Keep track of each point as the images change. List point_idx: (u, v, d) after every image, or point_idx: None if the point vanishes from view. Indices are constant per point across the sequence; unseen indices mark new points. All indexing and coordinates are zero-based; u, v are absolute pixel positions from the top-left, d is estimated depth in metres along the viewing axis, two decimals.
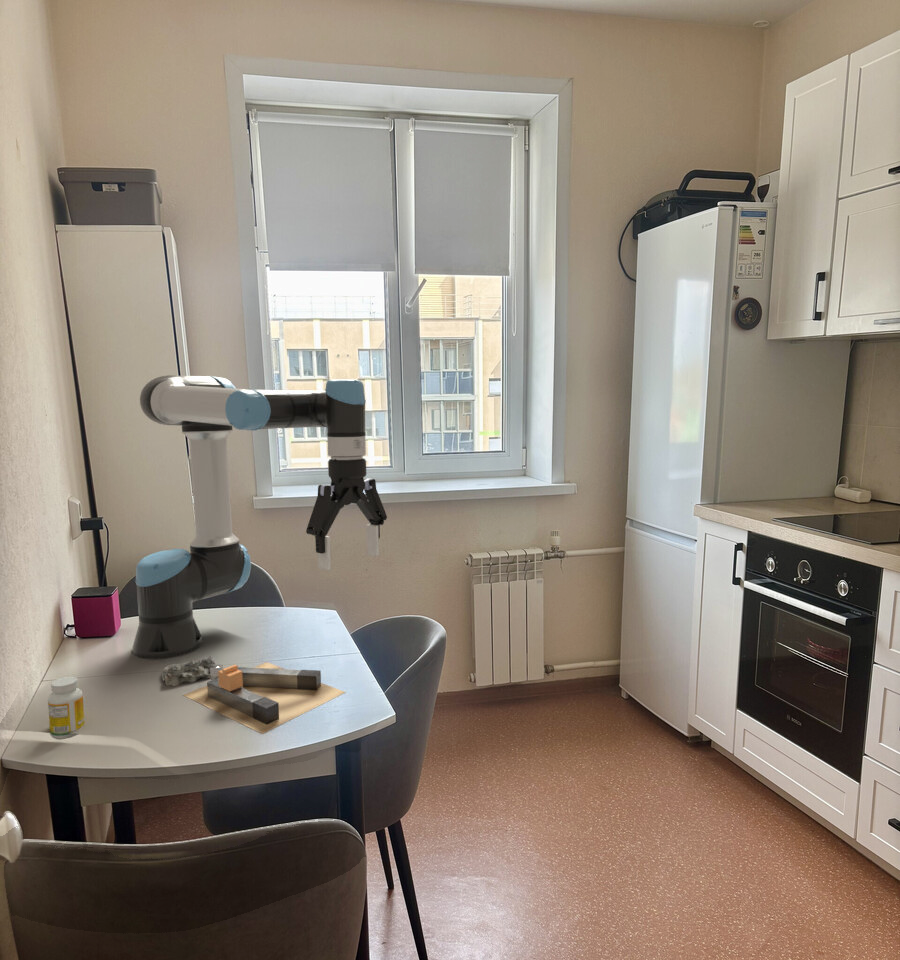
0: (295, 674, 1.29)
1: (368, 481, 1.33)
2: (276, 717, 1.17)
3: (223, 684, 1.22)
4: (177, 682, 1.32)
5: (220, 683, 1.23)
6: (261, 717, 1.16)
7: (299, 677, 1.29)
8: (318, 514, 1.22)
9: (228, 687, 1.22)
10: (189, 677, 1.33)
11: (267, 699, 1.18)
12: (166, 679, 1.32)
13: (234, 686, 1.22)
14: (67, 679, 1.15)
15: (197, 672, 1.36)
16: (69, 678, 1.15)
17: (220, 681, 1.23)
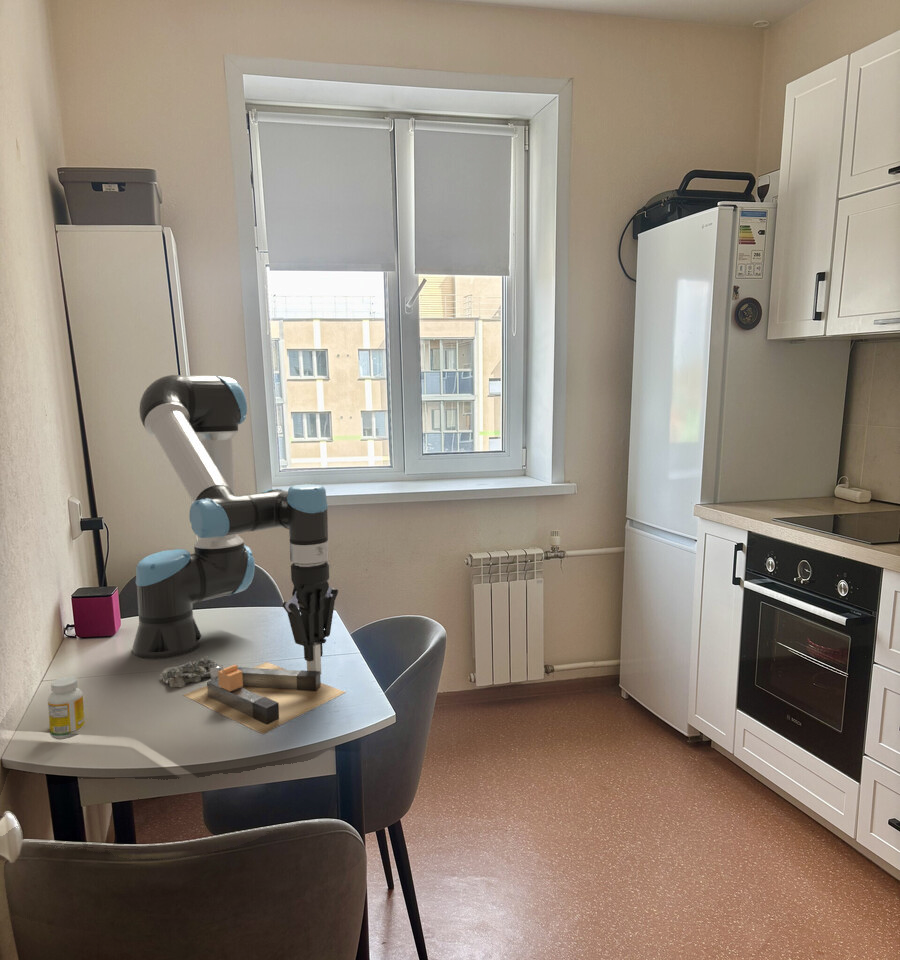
0: (294, 675, 1.29)
1: (331, 589, 1.34)
2: (276, 717, 1.17)
3: (223, 684, 1.22)
4: (183, 683, 1.31)
5: (220, 683, 1.23)
6: (261, 717, 1.16)
7: (299, 677, 1.29)
8: (297, 629, 1.27)
9: (228, 687, 1.22)
10: (194, 677, 1.33)
11: (267, 699, 1.18)
12: (171, 681, 1.31)
13: (234, 686, 1.22)
14: (67, 679, 1.15)
15: (199, 672, 1.36)
16: (69, 678, 1.15)
17: (220, 681, 1.23)
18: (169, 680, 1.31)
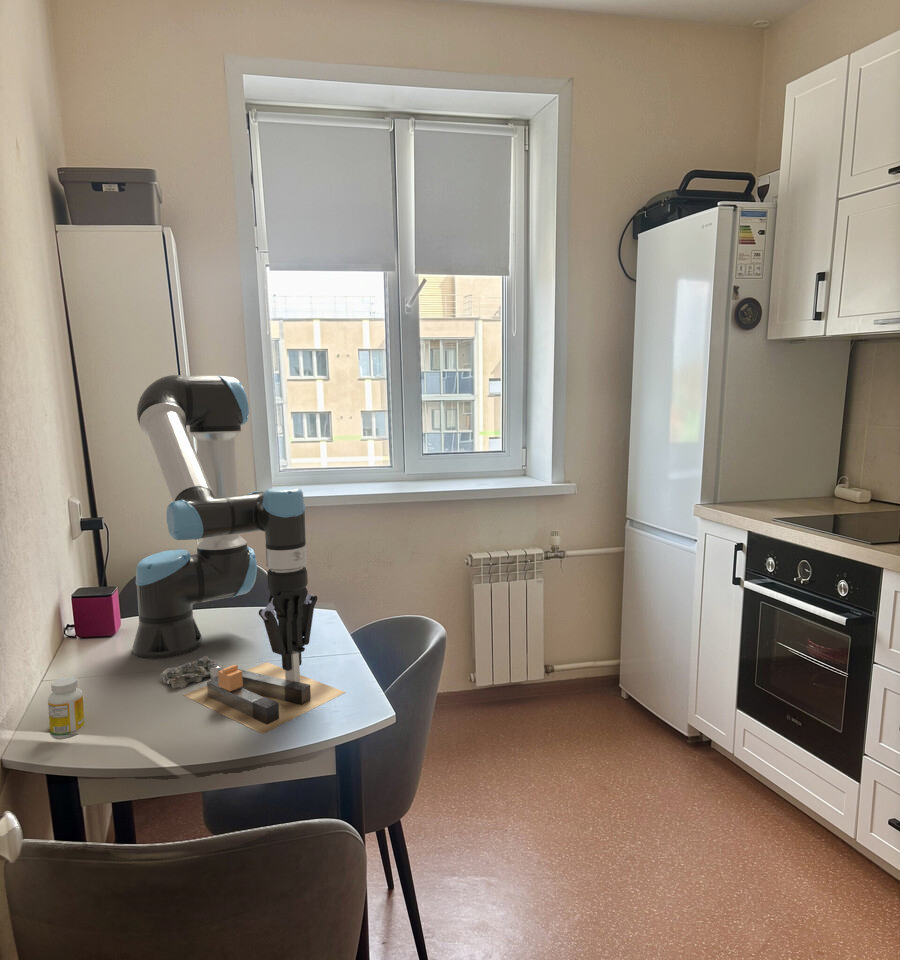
0: (283, 685, 1.24)
1: (310, 595, 1.29)
2: (276, 717, 1.17)
3: (223, 684, 1.22)
4: (185, 683, 1.31)
5: (220, 683, 1.23)
6: (261, 717, 1.16)
7: (287, 688, 1.24)
8: (274, 638, 1.22)
9: (228, 687, 1.22)
10: (195, 677, 1.33)
11: (267, 699, 1.18)
12: (173, 682, 1.31)
13: (234, 686, 1.22)
14: (67, 679, 1.15)
15: (199, 672, 1.36)
16: (69, 678, 1.15)
17: (220, 681, 1.23)
18: (170, 681, 1.31)
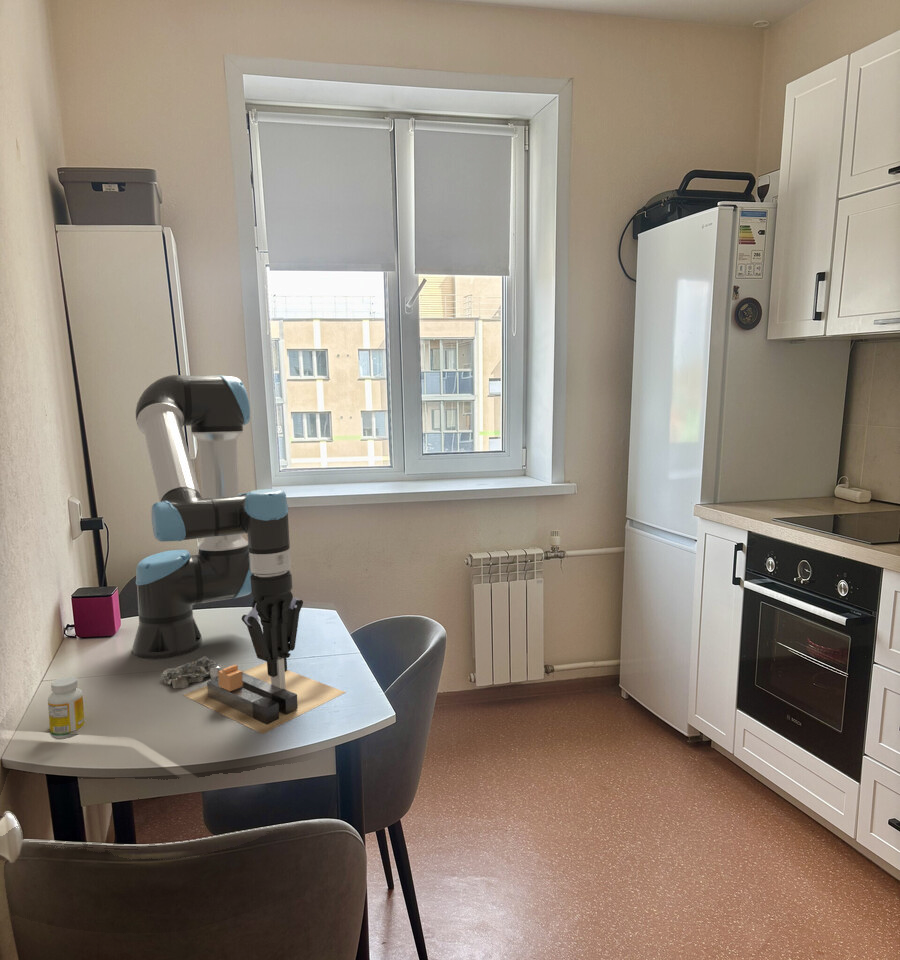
0: (271, 692, 1.21)
1: (296, 600, 1.26)
2: (276, 717, 1.17)
3: (223, 684, 1.22)
4: (187, 683, 1.31)
5: (220, 683, 1.23)
6: (261, 717, 1.16)
7: (274, 696, 1.21)
8: (258, 644, 1.19)
9: (228, 687, 1.22)
10: (196, 677, 1.33)
11: (267, 699, 1.18)
12: (174, 682, 1.30)
13: (234, 686, 1.22)
14: (67, 679, 1.15)
15: (200, 672, 1.36)
16: (69, 678, 1.15)
17: (220, 681, 1.23)
18: (172, 681, 1.31)
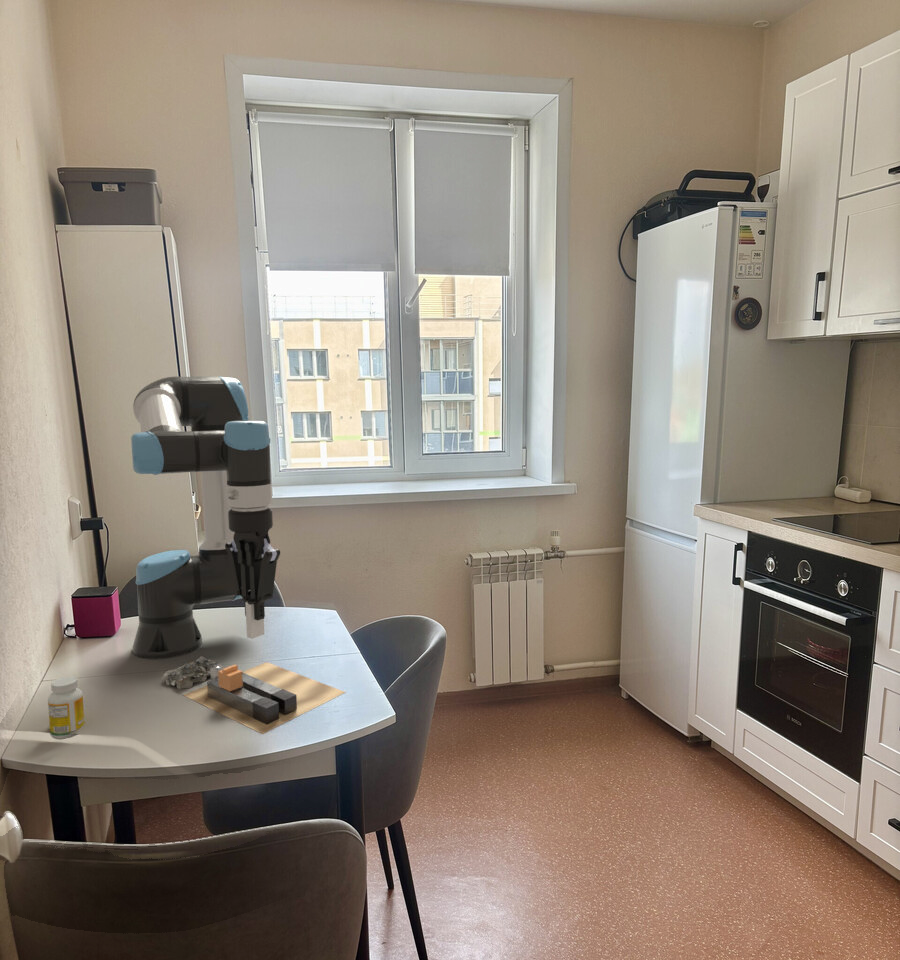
0: (270, 693, 1.21)
1: (268, 550, 1.12)
2: (276, 717, 1.17)
3: (223, 684, 1.22)
4: (191, 683, 1.31)
5: (220, 683, 1.23)
6: (261, 717, 1.16)
7: (273, 696, 1.20)
8: None
9: (228, 687, 1.22)
10: (199, 677, 1.33)
11: (267, 699, 1.18)
12: (179, 683, 1.30)
13: (234, 686, 1.22)
14: (67, 679, 1.15)
15: (201, 672, 1.36)
16: (69, 678, 1.15)
17: (220, 681, 1.23)
18: (176, 682, 1.30)
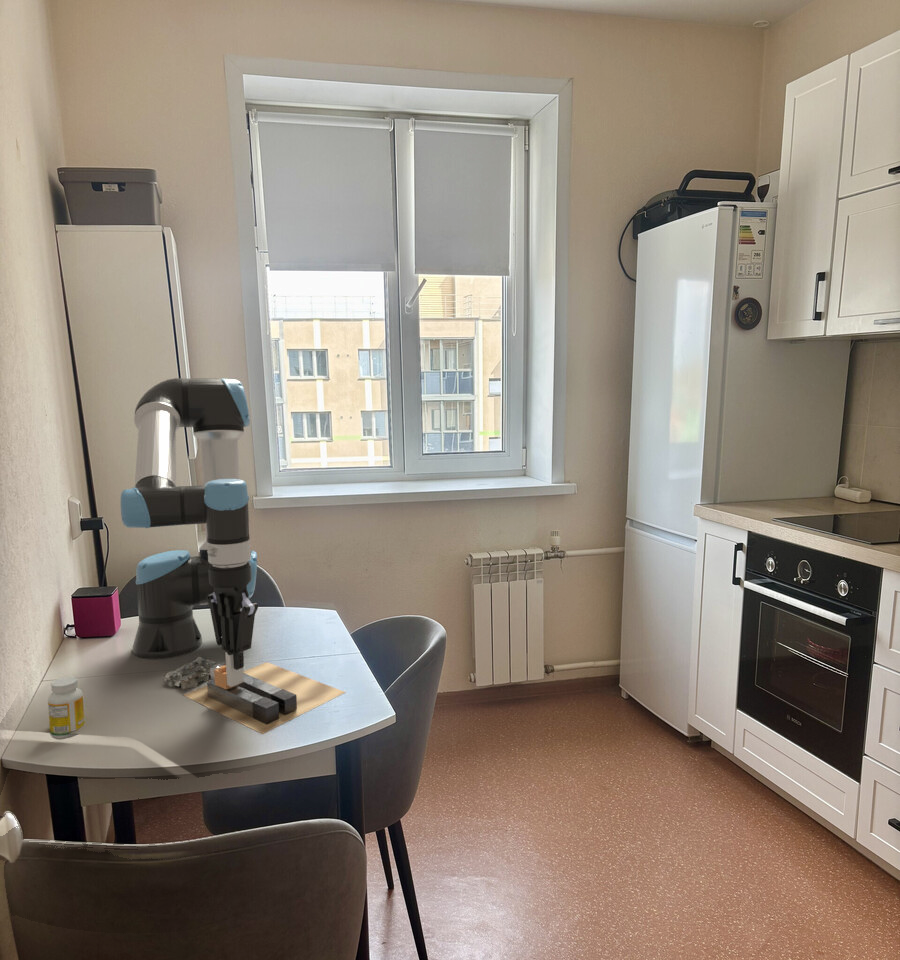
0: (270, 693, 1.21)
1: (246, 604, 1.17)
2: (276, 717, 1.17)
3: (219, 682, 1.23)
4: (196, 683, 1.31)
5: (216, 681, 1.24)
6: (261, 717, 1.16)
7: (273, 696, 1.20)
8: None
9: (224, 685, 1.22)
10: (203, 676, 1.34)
11: (267, 699, 1.18)
12: (184, 683, 1.30)
13: None
14: (67, 679, 1.15)
15: (202, 672, 1.36)
16: (69, 678, 1.15)
17: (216, 679, 1.24)
18: (181, 682, 1.30)
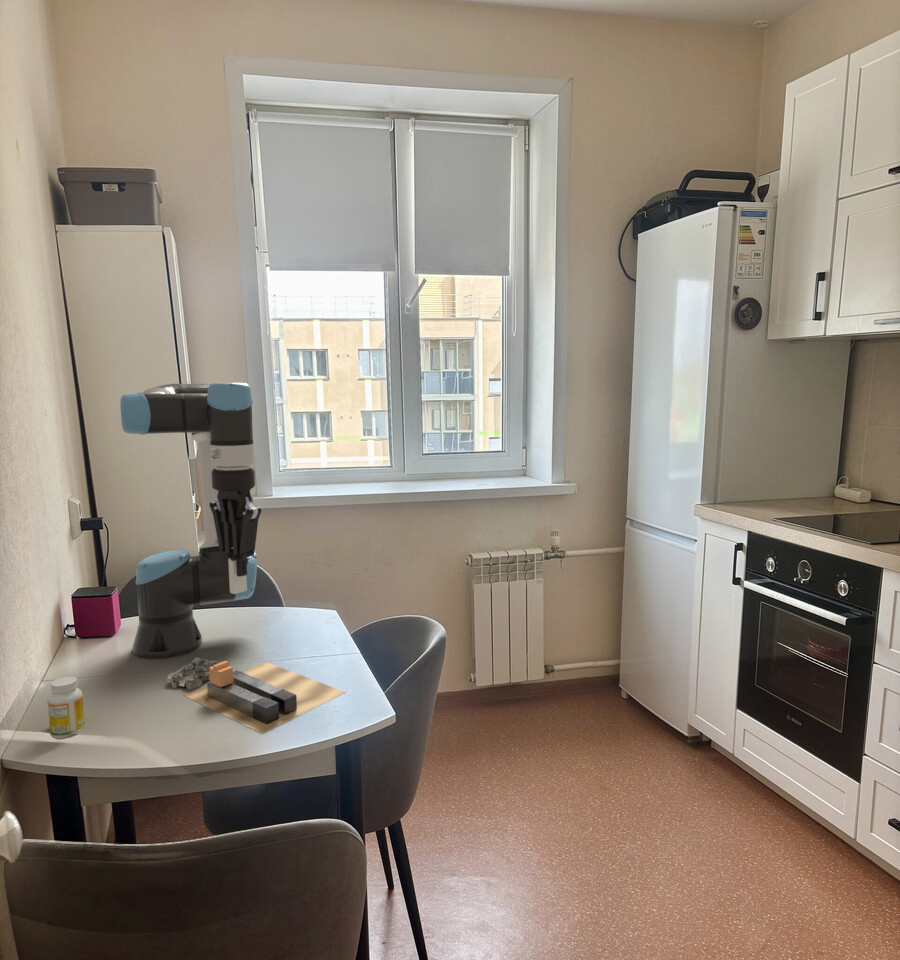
0: (270, 693, 1.21)
1: (249, 508, 1.16)
2: (276, 717, 1.17)
3: (214, 680, 1.24)
4: (201, 682, 1.31)
5: (211, 679, 1.25)
6: (261, 717, 1.16)
7: (273, 696, 1.20)
8: None
9: (219, 683, 1.23)
10: (206, 676, 1.34)
11: (267, 699, 1.18)
12: (189, 683, 1.30)
13: (225, 682, 1.24)
14: (67, 679, 1.15)
15: (204, 671, 1.36)
16: (69, 678, 1.15)
17: (211, 677, 1.25)
18: (186, 682, 1.30)
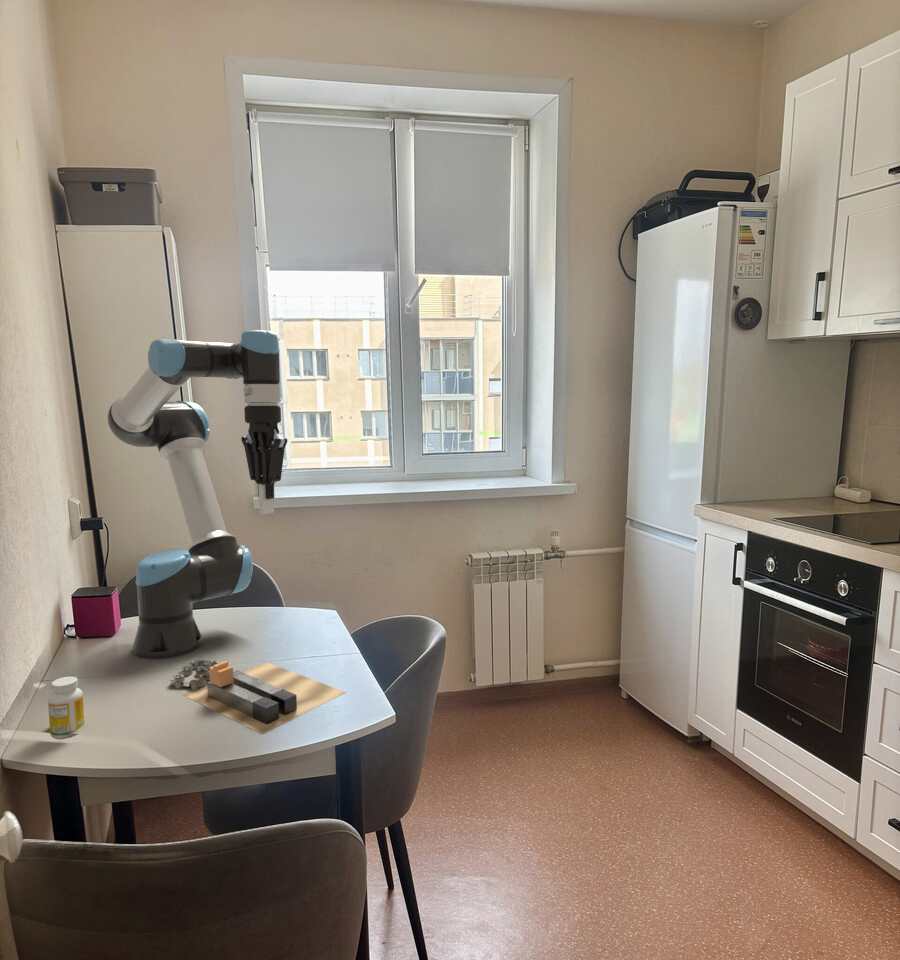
0: (270, 693, 1.21)
1: (277, 438, 1.35)
2: (276, 717, 1.17)
3: (214, 680, 1.24)
4: (205, 682, 1.32)
5: (211, 679, 1.25)
6: (261, 717, 1.16)
7: (273, 696, 1.20)
8: None
9: (219, 683, 1.23)
10: (209, 675, 1.34)
11: (267, 699, 1.18)
12: (194, 683, 1.30)
13: (225, 682, 1.24)
14: (67, 679, 1.15)
15: (205, 671, 1.36)
16: (69, 678, 1.16)
17: (211, 677, 1.25)
18: (191, 682, 1.30)
